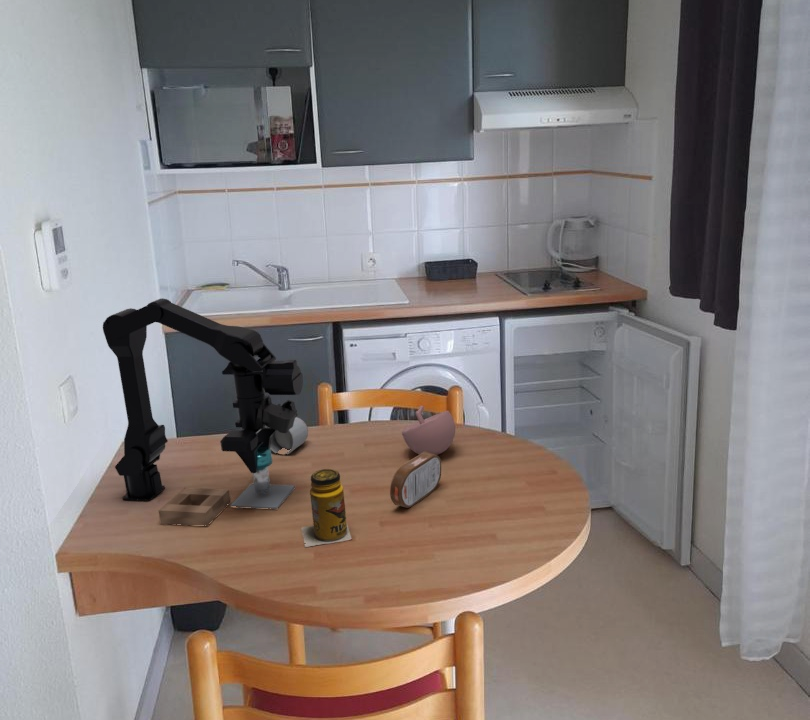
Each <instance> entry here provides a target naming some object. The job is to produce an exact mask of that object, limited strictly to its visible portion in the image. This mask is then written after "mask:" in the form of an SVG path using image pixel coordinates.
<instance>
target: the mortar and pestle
mask: <svg viewBox="0 0 810 720" xmlns="http://www.w3.org/2000/svg"><path fill="white" fill-rule="evenodd" d="M423 411H424V406H423V405H420V406H419V407H418V410H416V411H415V416H416V418H417V422H415V423H411V424H409V425H406V426H405V427H404V428H403V429H402V430H401V435H402V438H403V440H404V443H405V444H406V445H407V447H408V448H409V450H411V451H412V452H413V453H415V454H417V455H419V454H421V453H423V452H429V453H431V454H435V455H437V456H439V455H440V454H442V453H444V452H445V451H446V450H448V448H450V447H451V445H452V443H453V441H454V439H455V434H456V424H455V420H454V417H453V416H452V414H451V413H450V411H449V410H445V411H443V412H439V413H437V414H434V415H432V416H430V417H429V416H428V417H427V418H425V419H424V417H423Z"/></svg>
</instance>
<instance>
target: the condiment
mask: <svg viewBox="0 0 810 720" xmlns="http://www.w3.org/2000/svg"><path fill="white" fill-rule="evenodd" d="M310 482H311V483H310V486H311V488H310V491H309V496H310V504H311V514H312V515H311V517H312V523H313V525H309V526H307V525H306V526H302V527H300V528H301V533H302V537H305V538H304V539H303V544H304V543H306V544H304V548H309V547H315V546H321V545H327V544H333V543H339V542H341V543H342V542H344V541H345V542H347V541H349V540H352V539H353V538H352V535H351V533H350V529H349V525H348V523H347V522H348V521H347V513H346V504H345V494H344V487H343V485H342V483H341V475H340V473H339V471H338V470H335V469H330V468H329V469H328V468H324V469H319V470H317V471H314V473H312V474H311V476H310ZM303 534H304V535H303Z"/></svg>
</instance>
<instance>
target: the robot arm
mask: <svg viewBox="0 0 810 720" xmlns="http://www.w3.org/2000/svg"><path fill="white" fill-rule="evenodd" d="M154 323H157V324H158V323H159V324H161V325H162V326H164V327H168V328H169V329H172V330H175V331H176V332H179V333H181V334H183V335H186V336H188V337H190V338H192V339H195V340H197V341H200V342H201V343H204V344H206V345H208V346H210V347H212V348H213V349H214V350H215V351H216V352H217V354H218V355H220V356H221V357H222V358H224V359H226V360H227V361H228V363H227V365H226V367H225V368H224V369H223V370H222V371H221V374H222V375H224V376H225V375H227V376H229V375H230V376H231V375H232V379H233V385H234V391H235V393H234V394H235V399H236V400H235V401H233V402H232V407H233V409H237V416H238V420H236V421H235V428H241V429H242V430H230V431H229V432H228V433H227V434H226V435H224V436H223V437H222V439H221V440H220V448H221V451H222V452H234V453H236V454H237V456H238V457H239V458H240V459H241V461H242V463H244V465H245V466H246V467H247V469H248V470H249V472H250V473H251V474H253V473H256V472H257V449H258V448H259V447H266V448H269V449H270V445H271V440H272V435H273V433H274V432H275V431H276V430H278V431H279V432H280V433H287V432H288V431H289V429H290V428H292V427H293V424H294V420H295V418H296V417H298V415H299V414H298V412H297V411H298V409H296V405H295V401H293V400H290V399H287V400H285V402H283V404H282V405H281V403H278V404H274V403H273V402H272V397H270V396H299V395H300V394H301V393H302V390H303V385H304V384H303V381H304V377H303V373H302V370H301V368H300V367H299V365H298V364H297V363H298V361H297V359H288V360H276V359H277V357H276V356H275V355H274V353H272V351H271V350H270V349H269V348H268V347H267V345H266V344H265V343H264V341H263V338H262V335H261V334H260V333H259V332H258V331H256V330H253V329H251V328H250V329H249V328H246V327H242V326H237V325H227V324H226V325H225V324H222V323H219V322H217V321H214V320H212V319H210V318H208V317H205V316H203V315H201V314H198V313H197V312H193V311H191V310H189V309H187V308H185V307H182V306H180V305H178V304H176V303H173V302H171V300H169V299H167V298H158V299H156V300H153V301H151V302H149V303H147V305H146V306H145V305H144V306H142V307H139V308H138V309H136V308H126V309H124V310H121V311H119V312H117V313H114V314H111V315H109V316H108V317H106V319H105V320H104V321H103V323H102V331H103V334H104V339H105V340H106V344H107V347H108V348H109V349H110V350H111V351H112V353H113V354H114V355H115V356H116V359H117V365H118V370H119V376H120V382H121V387H122V388H121V389H122V393H123V400H124V405H125V413H126V418H127V428H126V432H125V435H124V440H123V453H124V455H123V456H122V457H121V459H119V461H118V462H117V464H116V465H115V466H114V469H115V470H116V472H117V474H118V475H119V476H120V477H121V476H122V477H123V480H124V485H125V490H126V494H125V495H124V496H123V497H122V499H123V501H124V500H125V501H142V502H150V501H151V500H153V499H154V498H155V497H157V496H158V495H159V494H160V493H161V492H163V491H164V490H165V489H166V485H163V484H162V479H161V478H162V477H161V472H159V469H158V465H157V464H155V463H156V462H157V461H159V460H160V458H161V455H162V453H163V452H164V450H165V449H166V444H167V443H168V442H169V441H168V439H167V436H166V426H165V425H164V424H160V425H159V424H158V423H157V422H156V421H155V419H154V418H153V412H152V411H153V410H152V406H151V399H150V394H149V386H148V381H147V374H146V367H145V362H144V355H143V351H144V348H145V345H146V341H147V338H148V337H147V336H148V335H147V333H148V332H147V331H148V330H147V329H148V328H147V327H148V326H149V325H152V324H154ZM257 357H258V359H257V360H256V358H257ZM266 394H268V395H266Z"/></svg>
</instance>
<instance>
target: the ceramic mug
mask: <svg viewBox="0 0 810 720" xmlns="http://www.w3.org/2000/svg"><path fill="white" fill-rule="evenodd" d="M308 436H309V428H308V426H307V423H306V422H305V421H304V420H303V419H302V418H300V417H298V416H297V417H296V418H295V420H294V424H293V427H292V428H290V429H289V431H288V432H287V433H280V432H279V431H278V430H276V431H275V432H274V433H273V435H272V440H271V445H270V449H271V452H273V453H274V454H276V453H278V451H279V450H281V449H282V448H285V449H287V450H290V449H291V450H290V451H289V452H287V453H285V454H287V455H290V454H291V453H292V452H293V451H295V450H296V449H297V448H298V447H300V446H301V445H303V444H304V443H305V442H306V440H307V439H308Z"/></svg>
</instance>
